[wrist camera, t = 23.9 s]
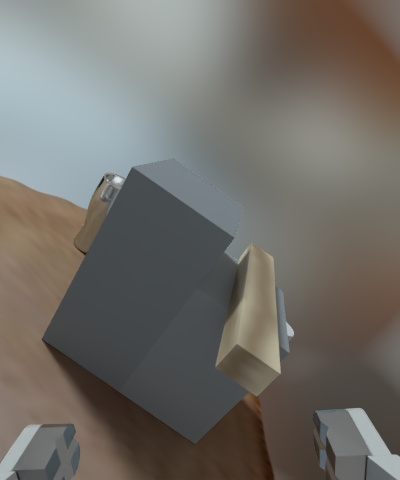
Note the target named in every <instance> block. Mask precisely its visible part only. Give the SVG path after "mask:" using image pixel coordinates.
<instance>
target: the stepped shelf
mask: <svg viewBox="0 0 400 480" xmlns="http://www.w3.org/2000/svg"><path fill="white" fill-rule="evenodd" d="M243 210H244V207H243V206H241V205H240V204H238V203H236V202H235V201H234V200H232V199H231V198H229V197H228V196H227V195H225V194H224V193H222V192H221V191H220V190H218V189H216V188H215V187H214V186H212V185H211V184H209V183H208V182H207V181H205V180H204V179H202V178H201V177H199V176H198V175H197V174H195V173H193V172H192V171H191V170H189V169H188V168H186V167H185V166H183V165H182V164H180V163H179V162H178V161H176V160H175V159H170V160H165V161H160V162H155V163H150V164H144V165H139V166H135V167H132V168H131V170H130V172H129V174H128V176H127V178H126V180H125V182H124V184H123V186H122V187H121V189H120V191H119V193H118V195H117V197H116V199H115V201H114V203H113V205H112V206H111V208H110V210H109V212H108V214H107V216H106V218H105V220H104V222H103V224H102V225H101V227H100V229H99V231H98V233H97V235H96V237H95V239H94V241H93V243H92V245H91V246H90V248H89V250H88V252H87V254H86V256H85V258H84V260H83V262H82V264H81V265H80V267H79V269H78V271H77V273H76V275H75V277H74V279H73V281H72V283H71V284H70V286H69V288H68V290H67V292H66V294H65V296H64V298H63V300H62V302H61V303H60V305H59V307H58V309H57V311H56V313H55V315H54V317H53V319H52V321H51V322H50V324H49V326H48V328H47V330H46V332H45V334H44V336H43V338H42V340H44V341H45V342H47V343H48V344H50V345H51V346H53V347H54V348H55V349H57V350H58V351H60V352H61V353H63V354H64V355H66V356H67V357H69V358H70V359H72V360H73V361H74V362H76V363H77V364H79V365H80V366H82V367H83V368H85V369H86V370H88V371H89V372H90V373H92V374H93V375H95V376H96V377H98V378H99V379H101V380H102V381H104V382H105V383H106V384H108V385H109V386H111V387H112V388H114V389H115V390H117V391H118V392H120V393H121V394H122V395H124V396H125V397H127V398H128V399H130V400H131V401H133V402H134V403H136V404H137V405H139V406H140V407H141V408H143V409H144V410H146V411H147V412H149V413H150V414H152V415H153V416H155V417H156V418H157V419H159V420H160V421H162V422H163V423H165V424H166V425H168V426H169V427H171V428H172V429H173V430H175V431H176V432H178V433H179V434H181V435H182V436H184V437H185V438H187V439H188V440H189V441H191V442H192V443H194V444H196V443H197V442H198V441H199V440H200V439H201V438H202V437H203V436H204V435H205V434H206V433H207V432H208V431H209V430H210V429H211V428H213V427H214V426H215V425H216V424H217V423H218V422H219V421H220V420H221V419H222V418H223V417H224V416H225V415H226V414H227V413H228V412H229V411H230V410H231V409H232V408H233V407H234V406H235V405H236V404H237V403H238V402H239V401H240V400H241V399H243V398H244V397H245V396H246V395H247V394H248V393H249V391H248V390H246V389H245V388H244V387H242V386H241V385H239V384H238V383H236V382H235V381H233V380H232V379H231V378H229V377H228V376H226V375H225V374H223V373H222V372H220V371H219V370H217V369H216V368H215V366H216V361H217V357H218V352H219V348H220V343H221V339H222V334H223V330H224V326H225V321H226V317H227V312H228V308H229V303H230V299H231V294H232V290H233V285H234V281H235V276H236V272H237V268H238V263H239V261H238V260H237V259H236V258H234V257H233V256H231V255H230V254H228V253H227V252H225V250H226V248H227V247H228V246H229V244H230V243H231V242H232V240H233V239H234V238H235V235H236V232H237V228H238V225H239V222H240V219H241V215H242V213H243ZM275 293H276V309H277V324H278V340H279V356H280V362H281V361H282V360H283V359H284V358H285V357H286V356H287V355H288V354H289V344H288V335H287V326H286V317H285V308H284V300H283V291H282V290H280V289H279V288H277V287H276V286H275Z"/></svg>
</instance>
